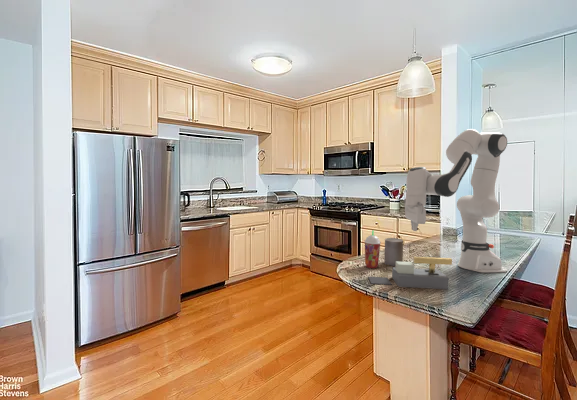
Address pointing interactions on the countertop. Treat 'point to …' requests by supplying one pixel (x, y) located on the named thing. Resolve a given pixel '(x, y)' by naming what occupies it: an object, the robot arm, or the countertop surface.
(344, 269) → the countertop surface
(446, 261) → the key
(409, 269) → the cover
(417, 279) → the housing
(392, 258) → the pillar candle
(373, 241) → the smoothie
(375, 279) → the mat
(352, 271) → the countertop surface
